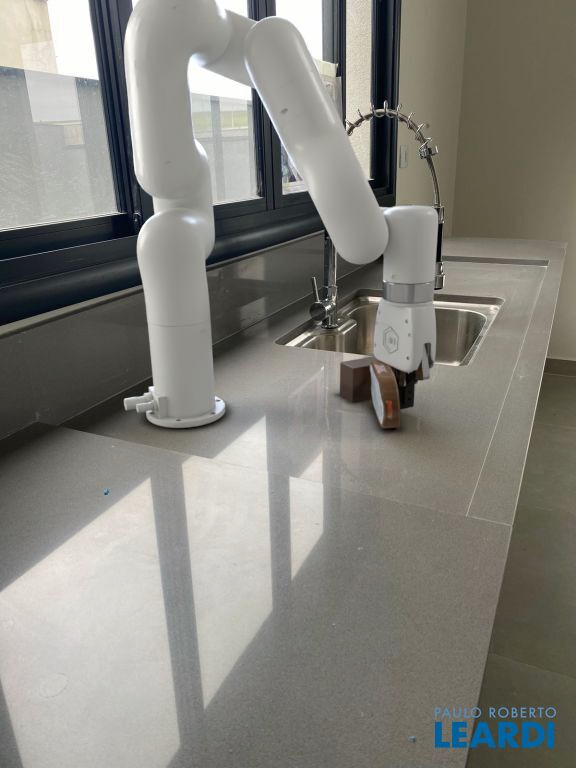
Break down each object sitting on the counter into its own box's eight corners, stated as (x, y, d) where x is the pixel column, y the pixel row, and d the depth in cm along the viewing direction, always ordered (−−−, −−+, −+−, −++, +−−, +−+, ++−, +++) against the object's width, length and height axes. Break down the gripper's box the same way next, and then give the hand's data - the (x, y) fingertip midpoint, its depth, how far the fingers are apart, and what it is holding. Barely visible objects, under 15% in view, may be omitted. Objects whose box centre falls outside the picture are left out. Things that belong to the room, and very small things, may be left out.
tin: (401, 437, 88) (403, 382, 85) (380, 437, 88) (380, 383, 85) (386, 399, 102) (387, 352, 99) (367, 400, 102) (367, 352, 99)
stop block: (352, 402, 101) (353, 368, 99) (339, 395, 105) (340, 362, 103) (391, 394, 105) (392, 361, 103) (377, 387, 108) (378, 355, 106)
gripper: (358, 287, 94) (356, 396, 101) (420, 304, 82) (413, 428, 88) (397, 282, 98) (393, 388, 104) (462, 298, 85) (452, 418, 91)
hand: (402, 406), depth 96 cm, fingers closed
